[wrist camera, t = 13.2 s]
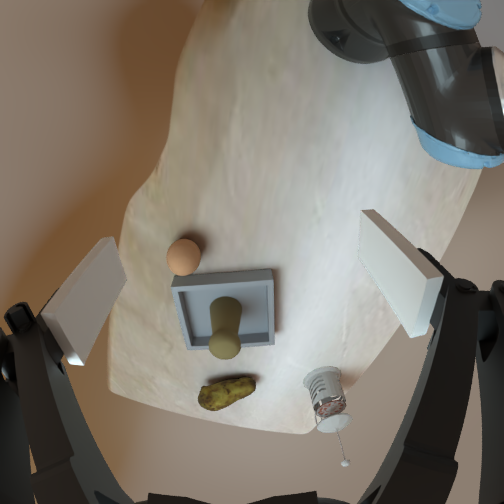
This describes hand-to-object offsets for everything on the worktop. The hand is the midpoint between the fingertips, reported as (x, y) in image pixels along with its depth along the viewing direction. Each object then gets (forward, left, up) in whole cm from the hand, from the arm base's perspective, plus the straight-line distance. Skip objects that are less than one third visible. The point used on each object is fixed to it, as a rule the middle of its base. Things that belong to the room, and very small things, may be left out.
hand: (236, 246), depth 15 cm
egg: (+9, +14, -31) cm, 35 cm away
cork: (+4, +27, -30) cm, 41 cm away
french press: (-17, +54, -31) cm, 64 cm away
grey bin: (+4, +27, -31) cm, 41 cm away
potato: (+6, +50, -31) cm, 59 cm away
